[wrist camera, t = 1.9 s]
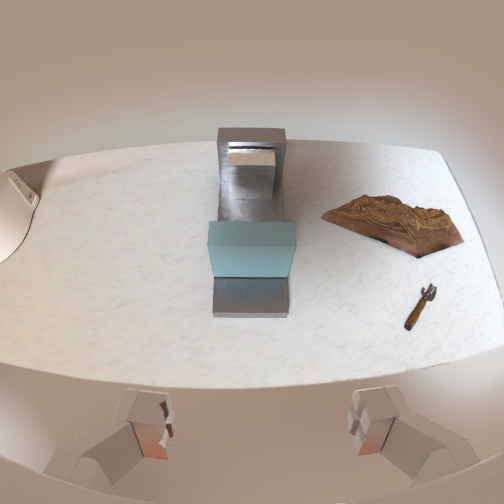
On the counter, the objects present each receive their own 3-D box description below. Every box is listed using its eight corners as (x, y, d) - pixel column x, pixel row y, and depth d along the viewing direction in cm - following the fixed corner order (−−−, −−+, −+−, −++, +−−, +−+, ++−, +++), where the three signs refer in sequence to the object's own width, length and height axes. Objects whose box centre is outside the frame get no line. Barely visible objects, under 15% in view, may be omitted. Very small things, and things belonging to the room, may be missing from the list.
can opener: (407, 332, 38) (411, 330, 37) (396, 320, 39) (400, 318, 38) (438, 291, 42) (442, 288, 40) (428, 280, 42) (432, 277, 41)
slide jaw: (287, 277, 39) (295, 246, 33) (214, 276, 39) (207, 245, 32) (286, 255, 41) (294, 222, 34) (215, 255, 41) (209, 221, 34)
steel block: (271, 199, 45) (275, 165, 39) (229, 198, 45) (227, 164, 39) (270, 183, 47) (274, 149, 41) (230, 182, 47) (228, 148, 41)
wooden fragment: (457, 215, 48) (460, 212, 47) (466, 270, 43) (469, 267, 42) (323, 184, 50) (324, 180, 49) (319, 242, 45) (320, 238, 44)
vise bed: (286, 317, 39) (298, 287, 30) (214, 317, 39) (204, 287, 30) (278, 171, 51) (284, 124, 42) (222, 170, 50) (219, 123, 42)
